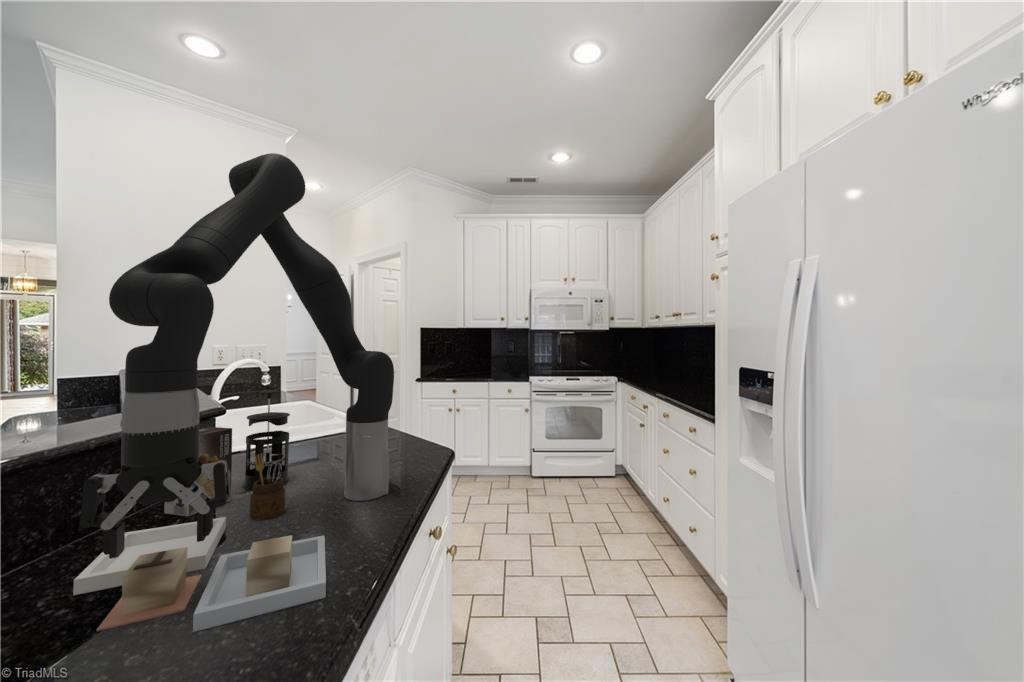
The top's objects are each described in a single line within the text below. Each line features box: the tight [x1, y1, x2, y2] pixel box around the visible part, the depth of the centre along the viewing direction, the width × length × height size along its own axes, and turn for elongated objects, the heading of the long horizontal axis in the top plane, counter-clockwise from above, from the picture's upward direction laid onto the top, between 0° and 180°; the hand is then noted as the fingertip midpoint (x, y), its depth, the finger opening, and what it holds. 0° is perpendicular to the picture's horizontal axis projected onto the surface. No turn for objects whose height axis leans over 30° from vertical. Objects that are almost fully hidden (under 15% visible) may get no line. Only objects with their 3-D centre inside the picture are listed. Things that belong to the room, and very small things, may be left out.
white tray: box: [72, 516, 227, 596], centre depth 60 cm, size 14×14×3 cm
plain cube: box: [246, 535, 293, 597], centre depth 54 cm, size 5×5×5 cm
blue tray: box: [192, 535, 327, 633], centre depth 54 cm, size 14×14×3 cm
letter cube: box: [121, 547, 188, 617], centre depth 50 cm, size 5×5×5 cm
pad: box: [96, 574, 203, 632], centre depth 49 cm, size 8×8×1 cm
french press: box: [242, 389, 291, 492], centre depth 93 cm, size 12×9×23 cm
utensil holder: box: [249, 454, 286, 521], centre depth 75 cm, size 6×6×12 cm
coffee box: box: [163, 426, 233, 517], centre depth 78 cm, size 9×6×16 cm
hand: (160, 546), depth 50 cm, fingers open, 8 cm apart
